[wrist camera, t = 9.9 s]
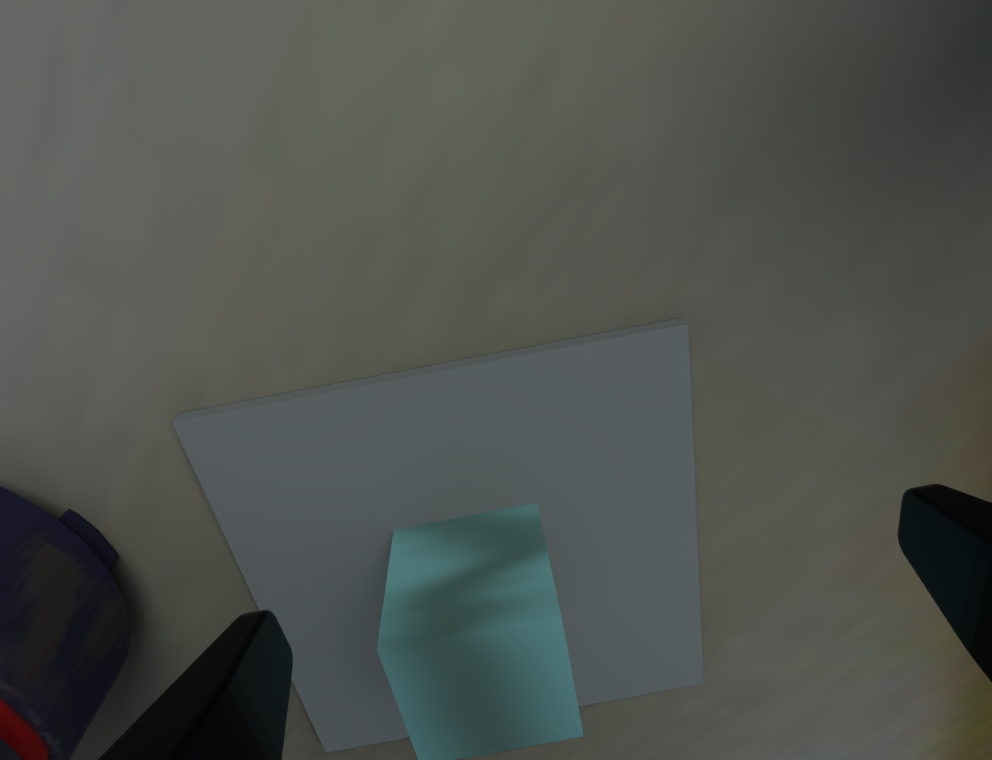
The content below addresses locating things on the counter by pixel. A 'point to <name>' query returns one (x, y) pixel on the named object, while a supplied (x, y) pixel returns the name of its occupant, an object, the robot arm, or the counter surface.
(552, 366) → the slate pad
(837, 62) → the counter surface
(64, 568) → the thermos flask
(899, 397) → the counter surface
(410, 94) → the counter surface
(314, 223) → the counter surface
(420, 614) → the teal block
